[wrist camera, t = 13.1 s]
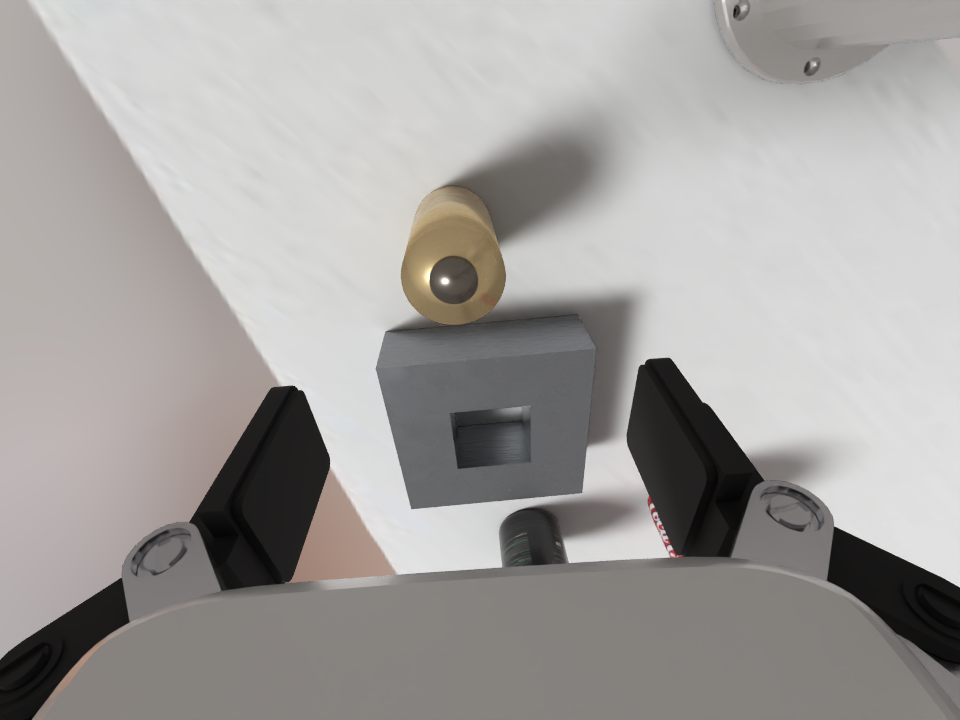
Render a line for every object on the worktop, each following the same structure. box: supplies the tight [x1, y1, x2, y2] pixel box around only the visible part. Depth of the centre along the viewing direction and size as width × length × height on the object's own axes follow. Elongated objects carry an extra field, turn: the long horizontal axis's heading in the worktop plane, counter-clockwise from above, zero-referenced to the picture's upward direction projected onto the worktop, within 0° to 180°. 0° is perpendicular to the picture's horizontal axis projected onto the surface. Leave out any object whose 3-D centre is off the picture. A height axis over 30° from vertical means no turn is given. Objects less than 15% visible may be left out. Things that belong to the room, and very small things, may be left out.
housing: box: [376, 315, 596, 509], centre depth 35 cm, size 15×15×5 cm
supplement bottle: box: [499, 509, 569, 568], centre depth 42 cm, size 7×7×12 cm
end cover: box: [401, 186, 506, 325], centre depth 25 cm, size 5×5×9 cm
